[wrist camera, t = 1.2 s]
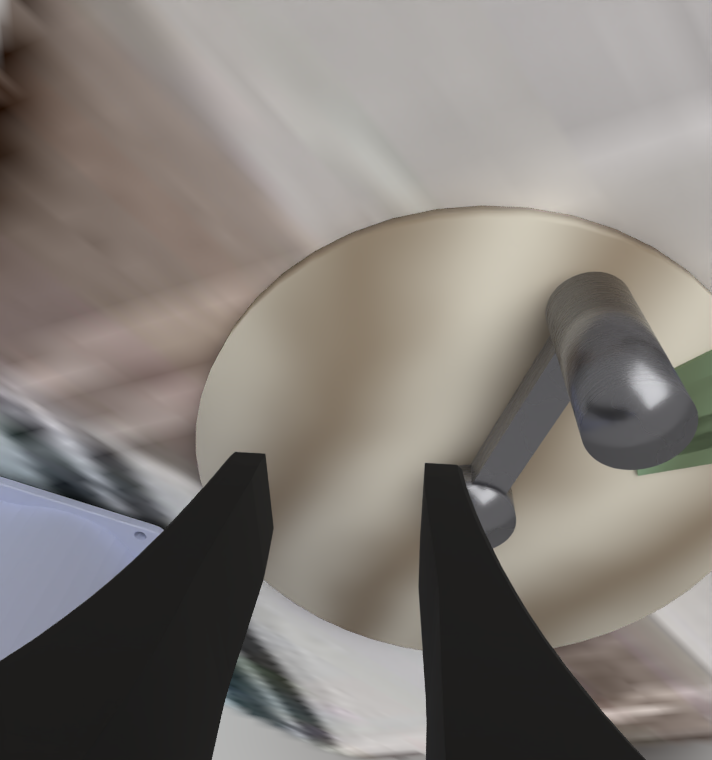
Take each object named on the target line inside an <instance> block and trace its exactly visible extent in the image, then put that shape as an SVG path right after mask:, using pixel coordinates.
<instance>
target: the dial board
mask: <svg viewBox="0 0 712 760" xmlns="http://www.w3.org/2000/svg"><path fill="white" fill-rule="evenodd" d="M586 272H604V273H608V274H612V275H614V276H616V277H618V278H619V279H621V280H622V281H623V282H624V283H625V284H626V285H627V287H628V288H629V290H630V292H631V293H632V295H633V297H634V299H635V301H636V302H637V304H638V306H639V308H640V309H641V311H642V313H643V315H644V316H645V318H646V320H647V322H648V323H649V325H650V327H651V329H652V330H653V332H654V334H655V336H656V337H657V339H658V341H659V343H660V345H661V346H662V348H663V350H664V352H665V353H666V355H667V357H668V359H669V360H670V362H671V364H672V366H673V367H674V369H675V371H676V373H677V374H678V376H679V378H680V380H681V381H682V383H683V385H684V387H685V389H686V390H687V392H688V394H689V396H690V397H691V399H692V401H693V403H694V404H695V406H696V409H697V412H698V426H697V430H696V433H695V435H694V437H693V439H692V440H691V442H690V443H689V444H688V446H687V447H686V448H685V449H684V450H683V451H682V452H680V453H679V454H678V455H677V456H675V457H674V458H672V459H670V460H669V461H667V462H665V463H662V464H660V465H657V466H654V467H651V468H646V469H639V470H622V469H616V468H612V467H609V466H606V465H604V464H602V463H600V462H598V461H597V460H595V459H594V458H593V457H592V456H591V455H590V454H589V453H588V452H587V450H586V449H585V447H584V445H583V443H582V439H581V436H580V432H579V429H578V426H577V422H576V419H575V416H574V412H573V409H572V406H571V402H569V403H568V405H567V406H566V408H565V409H564V411H563V412H562V414H561V415H560V416H559V418H558V419H557V421H556V422H555V424H554V425H553V427H552V428H551V430H550V431H549V432H548V434H547V435H546V437H545V438H544V440H543V441H542V443H541V444H540V446H539V447H538V449H537V450H536V451H535V453H534V454H533V456H532V457H531V459H530V460H529V462H528V463H527V465H526V466H525V468H524V469H523V470H522V472H521V473H520V475H519V476H518V478H517V479H516V481H515V482H514V484H513V485H512V487H511V489H512V494H513V500H514V507H515V514H516V526H515V529H514V532H513V533H512V535H511V536H510V537H509V538H508V539H507V540H506V541H505V542H504V543H502V544H501V545H499V546H497V547H495V548H493V550H494V552H495V554H496V556H497V558H498V560H499V562H500V564H501V566H502V568H503V570H504V572H505V573H506V575H507V577H508V579H509V580H510V582H511V584H512V586H513V587H514V589H515V591H516V593H517V594H518V596H519V598H520V599H521V601H522V603H523V604H524V606H525V607H526V609H527V611H528V612H529V614H530V615H531V617H532V618H533V620H534V621H535V623H536V624H537V626H538V627H539V629H540V630H541V632H542V633H543V635H544V636H545V638H546V639H547V641H548V642H549V644H550V645H551V646H552V648H556V647H561V646H565V645H570V644H574V643H578V642H582V641H585V640H588V639H591V638H595V637H598V636H601V635H604V634H607V633H610V632H612V631H615V630H617V629H620V628H622V627H624V626H627V625H629V624H632V623H634V622H636V621H638V620H640V619H642V618H644V617H646V616H648V615H650V614H652V613H653V612H655V611H657V610H659V609H661V608H663V607H665V606H666V605H668V604H669V603H670V602H672V601H673V600H675V599H676V598H678V597H679V596H681V595H682V594H684V593H685V592H687V591H688V590H690V589H691V588H692V587H693V586H694V585H696V584H697V583H698V582H699V581H700V580H702V579H703V578H704V577H705V576H706V575H707V574H709V573H710V572H711V571H712V293H711V292H710V291H708V290H707V289H706V288H705V287H704V286H703V285H702V284H701V283H700V282H699V281H698V280H697V279H696V278H695V277H694V276H693V275H692V274H690V273H689V272H688V271H687V270H686V269H684V268H683V267H681V266H680V265H679V264H677V263H676V262H674V261H673V260H671V259H670V258H668V257H667V256H665V255H664V254H662V253H661V252H659V251H658V250H656V249H655V248H653V247H651V246H649V245H647V244H645V243H643V242H641V241H639V240H637V239H635V238H633V237H631V236H628V235H626V234H624V233H622V232H620V231H618V230H616V229H613V228H610V227H607V226H604V225H601V224H598V223H594V222H591V221H588V220H585V219H582V218H579V217H575V216H572V215H566V214H561V213H555V212H549V211H543V210H538V209H532V208H522V207H500V206H472V207H460V208H447V209H436V210H431V211H426V212H422V213H417V214H412V215H407V216H403V217H398V218H393V219H390V220H387V221H384V222H381V223H378V224H376V225H373V226H370V227H367V228H364V229H361V230H358V231H355V232H353V233H350V234H348V235H346V236H344V237H342V238H340V239H338V240H336V241H334V242H332V243H330V244H329V245H327V246H325V247H323V248H321V249H319V250H317V251H315V252H313V253H312V254H310V255H309V256H307V257H306V258H305V259H303V260H302V261H300V262H299V263H297V264H296V265H294V266H293V267H292V268H290V269H289V270H287V271H286V272H284V273H283V274H282V275H281V276H280V277H279V278H277V279H276V280H275V281H274V282H273V283H272V284H271V285H270V286H269V287H268V288H267V289H266V290H265V291H263V292H262V293H261V294H260V295H259V296H258V297H257V298H256V299H255V300H254V302H253V303H252V304H251V305H250V307H249V308H248V309H247V311H246V312H245V313H244V314H243V316H242V317H241V318H240V319H239V321H238V322H237V323H236V324H235V326H234V328H233V330H232V331H231V333H230V335H229V337H228V338H227V340H226V342H225V344H224V345H223V347H222V349H221V351H220V353H219V354H218V356H217V358H216V360H215V362H214V364H213V366H212V368H211V371H210V373H209V376H208V379H207V382H206V384H205V387H204V390H203V393H202V395H201V400H200V405H199V411H198V417H197V422H196V457H197V463H198V469H199V475H200V481H201V484H202V487H204V486H205V485H206V484H207V483H208V481H209V480H210V479H211V478H212V477H213V476H214V474H215V473H216V472H217V471H218V470H219V469H220V467H221V466H222V465H223V464H224V463H225V461H226V460H227V459H228V458H229V457H230V456H231V455H232V454H233V453H234V452H247V453H264V454H266V463H267V472H268V481H269V490H270V499H271V508H272V517H273V526H274V530H273V535H272V540H271V546H270V551H269V556H268V561H267V566H266V571H265V576H264V580H265V581H266V582H267V583H268V584H269V585H270V586H271V587H273V588H274V589H275V590H277V591H278V592H279V593H281V594H282V595H284V596H285V597H286V598H288V599H289V600H291V601H292V602H293V603H295V604H296V605H298V606H300V607H302V608H303V609H305V610H307V611H309V612H310V613H312V614H314V615H316V616H317V617H319V618H321V619H323V620H325V621H328V622H330V623H332V624H334V625H336V626H339V627H341V628H343V629H345V630H348V631H351V632H354V633H356V634H359V635H362V636H365V637H368V638H371V639H374V640H377V641H381V642H385V643H389V644H393V645H397V646H400V647H406V648H412V649H417V650H423V649H422V634H421V619H420V604H419V589H418V583H419V551H420V529H421V514H422V498H423V483H424V467H425V463H437V464H454V465H458V466H459V465H470V464H471V463H472V461H473V459H474V458H475V456H476V455H477V453H478V451H479V450H480V448H481V446H482V445H483V443H484V442H485V440H486V438H487V437H488V435H489V433H490V432H491V430H492V429H493V427H494V425H495V424H496V422H497V420H498V419H499V417H500V416H501V414H502V412H503V411H504V409H505V407H506V406H507V404H508V403H509V401H510V399H511V398H512V396H513V394H514V393H515V391H516V390H517V388H518V386H519V385H520V383H521V381H522V380H523V378H524V377H525V375H526V373H527V372H528V370H529V368H530V367H531V365H532V364H533V362H534V360H535V359H536V357H537V355H538V354H539V352H540V351H541V349H542V347H543V346H544V344H545V342H546V341H547V339H548V338H549V336H550V332H549V329H548V326H547V322H546V316H545V313H546V306H547V303H548V300H549V298H550V296H551V295H552V293H553V292H554V291H555V289H556V288H557V287H558V286H559V285H560V284H562V283H563V282H564V281H566V280H567V279H569V278H571V277H573V276H575V275H578V274H581V273H586Z"/></svg>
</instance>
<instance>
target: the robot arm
mask: <svg viewBox="0 0 712 760" xmlns="http://www.w3.org/2000/svg"><path fill="white" fill-rule="evenodd" d="M273 530H274V526H273V517H272V508H271V499H270V490H269V481H268V472H267V463H266V454H264V453H247V452H234V453H233V454H232V455H231V456H230V457H229V458H228V459H227V460H226V461H225V463H224V464H223V465H222V466H221V467H220V469H219V470H218V471H217V472H216V473H215V474H214V476H213V477H212V478H211V479H210V480H209V481H208V483H207V484H206V485H205V486H204V487H203V488H202V490H201V491H200V492H199V493H198V494H197V495H196V496H195V497H194V499H193V500H192V501H191V502H190V503H189V504H188V505H187V506H186V507H185V508H184V509H183V510H182V512H181V513H180V514H179V515H178V516H177V517H176V518H175V519H174V520H173V521H172V522H171V523H170V524H169V525H168V527H167V528H166V529H165V530H163V529H162V528H161V527H159V526H156V525H153V524H150V523H147V522H144V521H140V520H137V519H134V518H131V517H128V516H124V515H121V514H118V513H115V512H112V511H109V510H105V509H102V508H99V507H96V506H93V505H89V504H86V503H83V502H80V501H77V500H74V499H70V498H67V497H64V496H61V495H58V494H54V493H51V492H48V491H45V490H42V489H39V488H35V487H32V486H29V485H26V484H23V483H19V482H16V481H13V480H10V479H7V478H4V477H0V760H212V755H213V751H214V746H215V742H216V738H217V733H218V728H219V724H220V719H221V714H222V711H223V706H224V702H225V699H226V695H227V692H228V688H229V685H230V681H231V678H232V675H233V672H234V669H235V666H236V663H237V659H238V656H239V653H240V650H241V647H242V644H243V641H244V638H245V635H246V632H247V629H248V626H249V623H250V620H251V617H252V613H253V610H254V607H255V604H256V601H257V598H258V595H259V592H260V588H261V585H262V582H263V579H264V576H265V571H266V566H267V561H268V556H269V551H270V546H271V540H272V535H273ZM418 589H419V604H420V619H421V634H422V649H423V663H424V678H425V692H426V717H427V733H426V760H646V759H645V758H644V757H643V756H642V755H641V754H640V753H639V752H638V751H637V750H636V749H635V748H634V747H633V746H632V745H631V743H630V742H629V741H628V740H627V739H626V738H625V737H624V736H623V734H622V733H621V732H620V731H619V730H618V729H617V728H616V727H615V725H614V724H613V723H612V722H611V721H610V720H609V719H608V717H607V716H606V715H605V714H604V713H603V712H602V711H601V709H600V708H599V707H598V706H597V704H596V703H595V702H594V701H593V699H592V698H591V697H590V696H589V694H588V693H587V692H586V691H585V689H584V688H583V687H582V686H581V684H580V683H579V682H578V681H577V679H576V678H575V677H574V676H573V674H572V673H571V672H570V671H569V669H568V668H567V667H566V666H565V664H564V663H563V662H562V660H561V659H560V657H559V656H558V655H557V653H556V652H555V650H554V649H553V648H552V646H551V645H550V644H549V642H548V641H547V639H546V638H545V636H544V635H543V633H542V632H541V630H540V629H539V627H538V626H537V624H536V623H535V621H534V620H533V618H532V617H531V615H530V614H529V612H528V611H527V609H526V607H525V606H524V604H523V603H522V601H521V599H520V598H519V596H518V594H517V593H516V591H515V589H514V587H513V586H512V584H511V582H510V580H509V579H508V577H507V575H506V573H505V572H504V570H503V568H502V566H501V564H500V562H499V560H498V558H497V556H496V554H495V552H494V550H493V548H492V546H491V544H490V542H489V540H488V538H487V536H486V534H485V532H484V529H483V527H482V525H481V523H480V520H479V518H478V516H477V513H476V511H475V508H474V506H473V503H472V500H471V498H470V495H469V492H468V489H467V486H466V483H465V479H464V475H463V471H462V469H461V468H460V467H459V466H458V465H454V464H437V463H425V467H424V483H423V498H422V514H421V529H420V551H419V583H418Z"/></svg>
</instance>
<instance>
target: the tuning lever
mask: <svg viewBox="0 0 712 760" xmlns="http://www.w3.org/2000/svg"><path fill="white" fill-rule="evenodd" d="M545 316H546V322H547V326H548V329H549V332H550V336H549V338H548V339H547V341H546V342H545V344H544V346H543V347H542V349H541V351H540V352H539V354H538V355H537V357H536V359H535V360H534V362H533V364H532V365H531V367H530V368H529V370H528V372H527V373H526V375H525V377H524V378H523V380H522V381H521V383H520V385H519V386H518V388H517V390H516V391H515V393H514V394H513V396H512V398H511V399H510V401H509V403H508V404H507V406H506V407H505V409H504V411H503V412H502V414H501V416H500V417H499V419H498V420H497V422H496V424H495V425H494V427H493V429H492V430H491V432H490V433H489V435H488V437H487V438H486V440H485V442H484V443H483V445H482V446H481V448H480V450H479V451H478V453H477V455H476V456H475V458H474V459H473V461H472V463H471V464H470V465H459V467H460V468H461V469H462V471H463V475H464V479H465V483H466V486H467V489H468V492H469V495H470V498H471V500H472V503H473V506H474V508H475V511H476V513H477V516H478V518H479V520H480V523H481V525H482V527H483V529H484V532H485V534H486V536H487V538H488V540H489V542H490V544H491V546H492V548H495V547H497V546H499V545H501V544H502V543H504V542H505V541H506V540H507V539H508V538H509V537H510V536H511V535H512V533H513V532H514V529H515V526H516V514H515V507H514V500H513V494H512V489H511V487H512V485H513V484H514V482H515V481H516V479H517V478H518V476H519V475H520V473H521V472H522V470H523V469H524V468H525V466H526V465H527V463H528V462H529V460H530V459H531V457H532V456H533V454H534V453H535V451H536V450H537V449H538V447H539V446H540V444H541V443H542V441H543V440H544V438H545V437H546V435H547V434H548V432H549V431H550V430H551V428H552V427H553V425H554V424H555V422H556V421H557V419H558V418H559V416H560V415H561V414H562V412H563V411H564V409H565V408H566V406H567V405H568V403H569V402H571V406H572V409H573V412H574V416H575V419H576V422H577V426H578V429H579V432H580V436H581V439H582V443H583V445H584V447H585V449H586V450H587V452H588V453H589V454H590V455H591V456H592V457H593V458H594V459H595V460H597V461H598V462H600V463H602V464H604V465H606V466H609V467H612V468H616V469H622V470H639V469H646V468H651V467H654V466H657V465H660V464H662V463H665V462H667V461H669V460H670V459H672V458H674V457H675V456H677V455H678V454H679V453H680V452H682V451H683V450H684V449H685V448H686V447H687V446H688V444H689V443H690V442H691V440H692V439H693V437H694V435H695V433H696V430H697V426H698V412H697V409H696V406H695V404H694V403H693V401H692V399H691V397H690V396H689V394H688V392H687V390H686V389H685V387H684V385H683V383H682V381H681V380H680V378H679V376H678V374H677V373H676V371H675V369H674V367H673V366H672V364H671V362H670V360H669V359H668V357H667V355H666V353H665V352H664V350H663V348H662V346H661V345H660V343H659V341H658V339H657V337H656V336H655V334H654V332H653V330H652V329H651V327H650V325H649V323H648V322H647V320H646V318H645V316H644V315H643V313H642V311H641V309H640V308H639V306H638V304H637V302H636V301H635V299H634V297H633V295H632V293H631V292H630V290H629V288H628V287H627V285H626V284H625V283H624V282H623V281H622V280H621V279H619V278H618V277H616V276H614V275H612V274H608V273H604V272H586V273H581V274H578V275H575V276H573V277H571V278H569V279H567V280H566V281H564V282H563V283H562V284H560V285H559V286H558V287H557V288H556V289H555V291H554V292H553V293H552V295H551V296H550V298H549V300H548V303H547V306H546V313H545Z"/></svg>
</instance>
